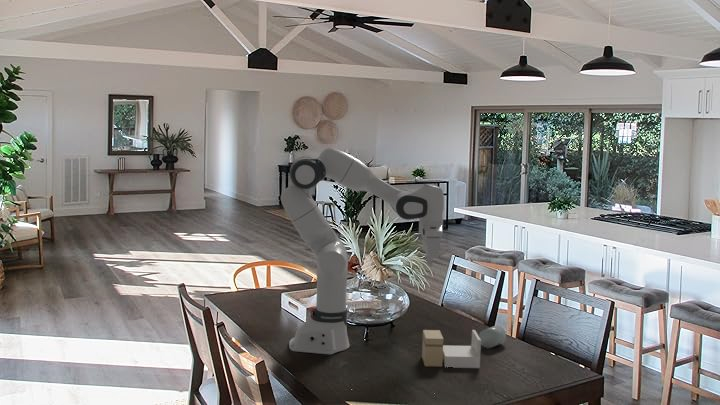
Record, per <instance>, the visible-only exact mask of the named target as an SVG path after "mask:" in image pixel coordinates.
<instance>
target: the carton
mask: <svg viewBox="0 0 720 405" xmlns="http://www.w3.org/2000/svg"><path fill="white" fill-rule="evenodd" d="M443 345H444V337H443V334H442V332H441V330H440V329H422V346H421V347H422V350H421V351H422V352H421V358H422V362H423V364H424V367H443V361H442V359H443Z"/></svg>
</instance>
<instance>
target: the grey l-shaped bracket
mask: <svg viewBox="0 0 720 405" xmlns="http://www.w3.org/2000/svg"><path fill="white" fill-rule="evenodd" d="M481 349H482V345H481V339H480V338H479V334H478V332H477V331H476V329H472V330H471V344H470V345H447V344H446V345H445V344H443V359H442V364H443V363H444V364H443V366H444V368H445V369H446V367H447V369H448V367H453V368H454V369H455V368H457V369H460V368H461V369H480V368H481V353H482V352H481ZM453 368H452V369H453Z"/></svg>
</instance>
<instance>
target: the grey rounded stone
mask: <svg viewBox="0 0 720 405" xmlns="http://www.w3.org/2000/svg"><path fill="white" fill-rule="evenodd" d="M478 336H479V338H480V339H481V347H483V348H485V347H486V348H485V349H491V348H494V347H496V346H499V345H501V344H504V343H505V342H506V340H507V332H506V330H505V329H504V328H503V326H501V325H493V326H491V327H488V328H486V329H485V328H484V329H483V330H481V331H480V332H479V334H478Z"/></svg>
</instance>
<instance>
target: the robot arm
mask: <svg viewBox="0 0 720 405" xmlns="http://www.w3.org/2000/svg"><path fill="white" fill-rule="evenodd" d="M289 177H290V180H291V181H290V182H291V183H290V185H289V186H288V187H286V188H285V189H283V191H282V192H281V195H280V201H281V204H282V206H283V209H284V211H285V213H286V215H287V217H288V218H289V220H290V221H291V222H290V223H291V224H292V226H294V228H295V229H296V231H297V233H298V235H300V237H301V239H302V241H304V242H305V244H306V245H307V246H308V248H309V249H310V250H311V251H312V253H313V254H314V255H315V257H316V303H315V305H316V306H313V305H312V306H311V307H310V309H309V312H310V318H309V319H307V320H306V321H304V322H303V323H302V324H300V325H299V326H298V328H297V329H296V332H295V336H294V337H292V338H291V339H290V340H289V343H288V348H289V350H290V351H292V352H300V353H308V354H309V353H311V354H321V355H333V354H335V353H338V352H342V351H345V350H348V348H350V346H351V345H350V341H349V337H348V330H347V323H348V313H349V312H348V308H347V293H348V292H347V289H348V288H347V287H348V271H349V269H348V266H349V265H348V264H349V259H348V253H347V249H346V247H345V244H344V243H343V242H342V240H341V239H340V237H339V236H338V235H337V233H336V232H335V230H334V229H333V228H332V226H331V225H330V224H329V222H328V220H327V219H326V217H325V216H324V214H323V212H322V211H321V209H320V208H319V206H318V204H317V203H316V202H315V200H314V198H313V196H312V194H311V188H314V187H316V185H318V184H319V183H320V182H321V181H322V180H323V179H324V178H328V179H330V180H332V181H334V182H336V183H337V184H339V185H341V186H343V187H344V188H347V189H350V190H352V191H356V192H367V193H370V194H372V195H374V196H376V197H378V198H380V199H381V200H382V201H384V202H385V203H386V202H387V204H389V206H391V208H392V210H393V211H394V212H395V213H396V214H397V215H398V217H399V218H401V219H403V220H414V219H418V233H419V234H421V237H422V239H421V240H422V241H421V242H422V244H421V246H422V249H423V250H424V252H425V256H426V265H427V266H428V267H432V266H433V262H434V261H433V260H434V259H438V258H439V255H440V248H441V238H443V237H444V236H443V233H444V217H443V216H444V215H443V213H444V210H445V208H444V207H445V197H444V196H445V195H444V190H443V189H442V188H441V187H439V186H438V185H435V184H430V183H428V184H427V183H424V184H422V185H421V186H420V187H418V188H416V189H413V190H410V189H404V188H403V189H402V188H397V187H395V186H393V185H391V184H389V183H387V182H386V181H384V180H382V179H381V178H379V177H378V176H376V175H375V174H374V172H373V171H372V170H371V168H369V167H368V166H367V165H366V164H365V163H364V162H363V161H361V160H360V159H358V158H356V157H354V156H353V155H352V154H349V153H347V152H346V151H343V150H340V149H338V148H335V147H333V146H332V147H331V146H330V147H327V148H324V149H323V151H321V152H320V154H319V156H318V157H316V158H312V157H310V156H309V157H308V156H301V157H299V158H297V159H295V160H294V161H293V162H292V164H291V166H290V168H289Z"/></svg>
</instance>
